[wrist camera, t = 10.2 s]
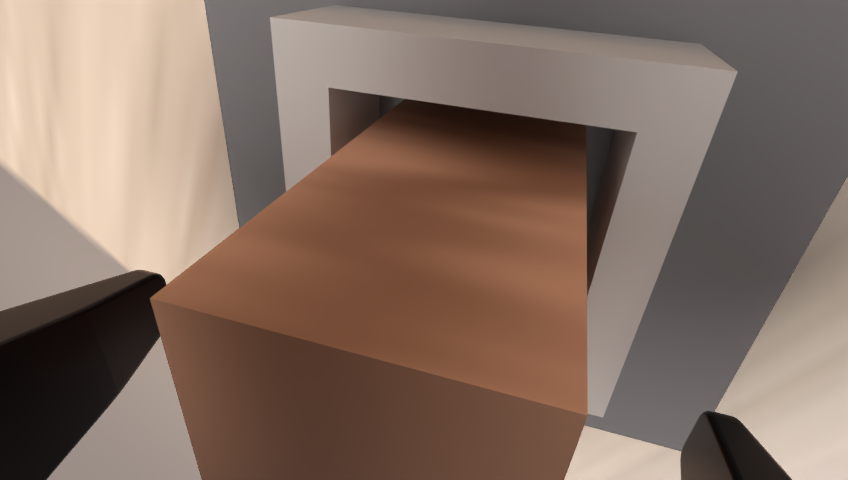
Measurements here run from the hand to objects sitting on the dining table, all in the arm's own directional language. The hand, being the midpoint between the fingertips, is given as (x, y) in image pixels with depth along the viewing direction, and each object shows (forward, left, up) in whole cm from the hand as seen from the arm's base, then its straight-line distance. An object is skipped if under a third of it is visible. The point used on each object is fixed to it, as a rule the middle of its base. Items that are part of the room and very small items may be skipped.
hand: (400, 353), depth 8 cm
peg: (0, 0, -7) cm, 7 cm away
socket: (0, 0, -8) cm, 8 cm away
